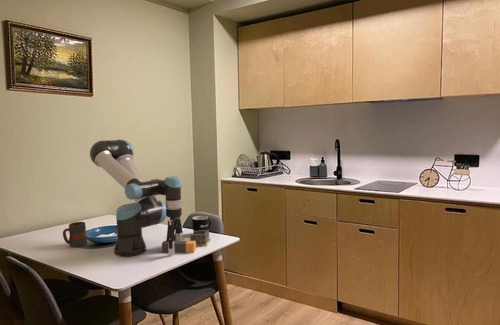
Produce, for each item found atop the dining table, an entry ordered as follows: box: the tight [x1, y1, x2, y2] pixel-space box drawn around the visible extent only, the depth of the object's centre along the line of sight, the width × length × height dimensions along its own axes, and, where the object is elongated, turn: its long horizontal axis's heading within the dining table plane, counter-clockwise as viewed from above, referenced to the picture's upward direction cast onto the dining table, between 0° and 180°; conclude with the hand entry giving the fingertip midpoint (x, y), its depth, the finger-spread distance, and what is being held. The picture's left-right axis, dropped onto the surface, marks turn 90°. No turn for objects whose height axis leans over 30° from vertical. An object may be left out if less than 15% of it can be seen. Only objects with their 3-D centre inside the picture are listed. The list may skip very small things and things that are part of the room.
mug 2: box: [191, 215, 211, 234], centre depth 215 cm, size 12×9×10 cm
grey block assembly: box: [173, 229, 211, 247], centre depth 199 cm, size 19×10×6 cm, turn 86°
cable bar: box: [161, 240, 197, 254], centre depth 187 cm, size 16×5×5 cm, turn 86°
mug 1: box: [62, 221, 88, 248], centre depth 197 cm, size 9×12×12 cm
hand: (175, 250), depth 187 cm, fingers open, 13 cm apart
